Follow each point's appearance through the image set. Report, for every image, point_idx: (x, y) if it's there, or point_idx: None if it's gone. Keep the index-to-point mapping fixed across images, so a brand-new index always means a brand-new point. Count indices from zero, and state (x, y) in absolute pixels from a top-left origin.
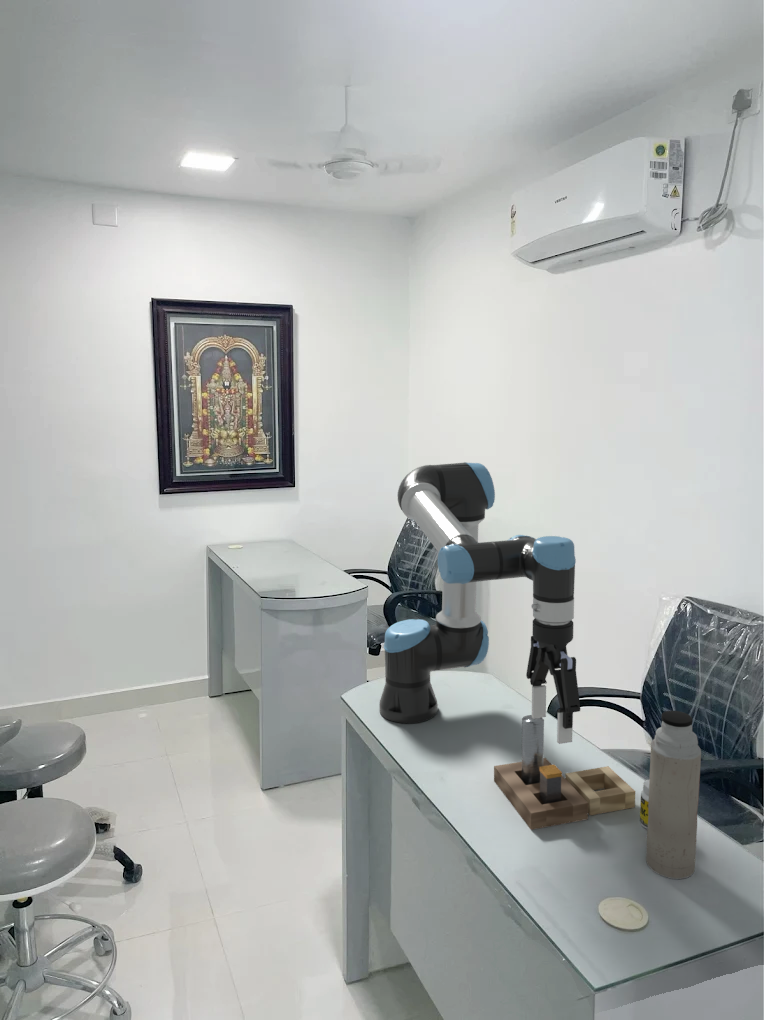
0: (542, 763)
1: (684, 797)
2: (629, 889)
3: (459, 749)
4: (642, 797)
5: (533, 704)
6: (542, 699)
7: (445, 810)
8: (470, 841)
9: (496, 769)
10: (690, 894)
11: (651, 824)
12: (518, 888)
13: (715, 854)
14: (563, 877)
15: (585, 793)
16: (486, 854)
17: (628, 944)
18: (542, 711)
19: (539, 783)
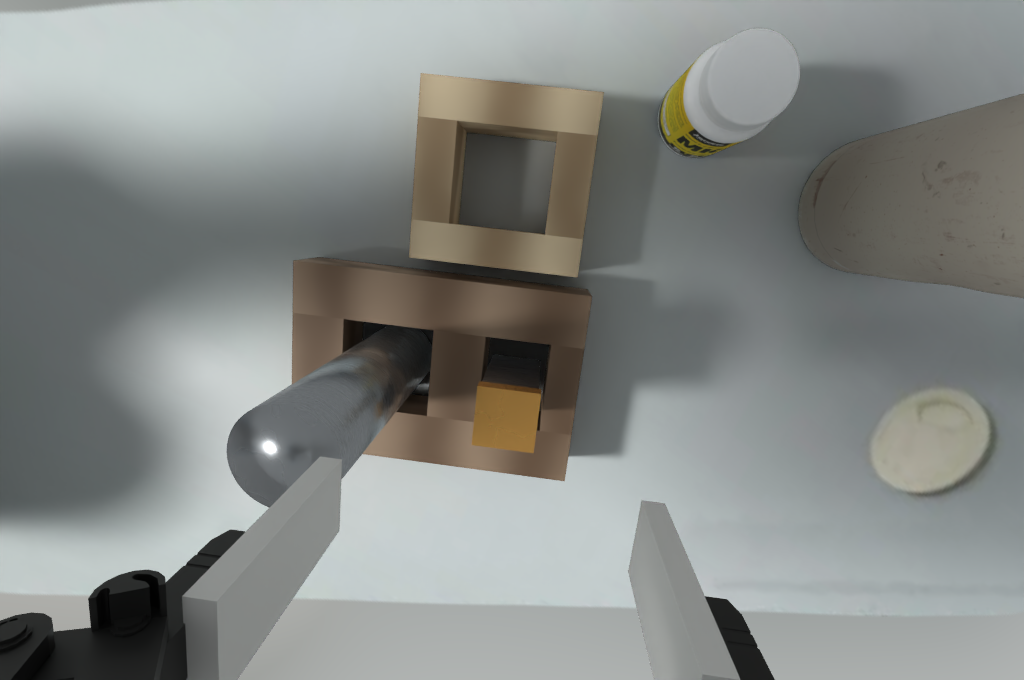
0: (397, 365)
1: None
2: (878, 376)
3: (118, 426)
4: (717, 141)
5: (295, 592)
6: (282, 552)
7: (402, 596)
8: (541, 602)
9: None
10: None
11: (945, 284)
12: (738, 594)
13: (907, 37)
14: (758, 489)
15: (542, 269)
16: (601, 595)
17: (1010, 493)
18: (323, 498)
19: (433, 371)
